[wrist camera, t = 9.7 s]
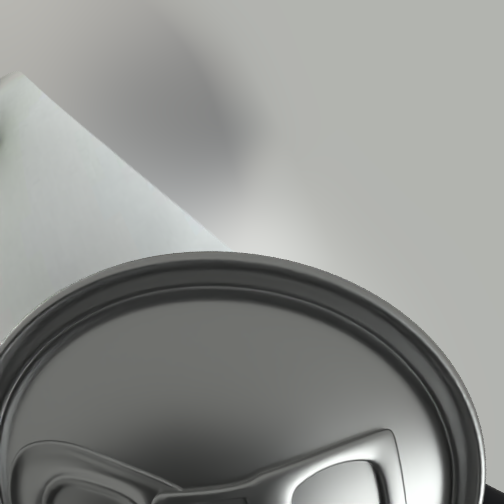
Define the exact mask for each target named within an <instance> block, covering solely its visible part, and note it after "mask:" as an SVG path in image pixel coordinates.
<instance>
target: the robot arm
mask: <svg viewBox="0 0 504 504" xmlns="http://www.w3.org/2000/svg"><path fill="white" fill-rule="evenodd" d="M483 504H504V493H503V492H501V491H499V490H496V489H495V488H493V487H491V486H489V485H487V484H485V492H484V499H483Z"/></svg>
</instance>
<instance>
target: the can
mask: <svg viewBox="0 0 504 504" xmlns="http://www.w3.org/2000/svg"><path fill="white" fill-rule="evenodd" d="M485 482H486V457H485V448H484V441H483V435H482V430H481V426H480V422H479V419H478V416H477V412H476V409H475V407H474V404H473V402H472V400H471V397H470V395H469V393H468V391H467V388H466V387H465V385H464V383H463V381H462V379H461V377H460V376H459V374H458V373H457V371H456V369H455V368H454V366H453V365H452V363H451V362H450V361H449V359H448V358H447V357H446V355H445V354H444V353H443V351H442V350H441V349H440V348H439V347H438V346H437V345H436V343H435V342H434V341H433V340H432V339H431V338H430V337H429V336H428V335H427V334H426V333H425V332H424V331H423V330H422V329H421V328H420V327H418V325H417V324H415V323H414V322H413V321H412V320H410V318H408V317H407V316H406V315H404V314H403V313H402V312H401V311H399V310H398V309H396V308H395V307H394V306H392V305H391V304H389V303H388V302H386V301H385V300H383V299H381V298H380V297H378V296H377V295H375V294H373V293H371V292H370V291H368V290H366V289H364V288H362V287H360V286H358V285H356V284H354V283H352V282H350V281H348V280H345V279H343V278H341V277H338V276H336V275H333V274H331V273H328V272H325V271H323V270H320V269H317V268H314V267H311V266H307V265H304V264H300V263H297V262H292V261H289V260H284V259H279V258H275V257H269V256H262V255H256V254H248V253H237V252H218V251H204V252H184V253H173V254H166V255H159V256H153V257H148V258H143V259H138V260H134V261H130V262H127V263H123V264H119V265H116V266H113V267H110V268H107V269H105V270H102V271H99V272H97V273H94V274H92V275H90V276H87V277H85V278H83V279H81V280H79V281H77V282H75V283H73V284H71V285H69V286H67V287H66V288H64V289H62V290H60V291H59V292H57V293H56V294H54V295H53V296H51V297H50V298H48V299H47V300H45V301H44V302H43V303H41V304H40V305H39V306H37V307H36V308H35V309H34V310H32V311H31V312H30V313H29V314H28V315H27V316H26V317H25V318H24V319H22V320H21V321H20V322H19V323H18V324H17V326H16V327H15V328H14V329H13V330H12V331H11V332H10V333H9V334H8V336H7V337H6V338H5V339H4V341H3V342H2V343H1V345H0V504H483V499H484V492H485Z"/></svg>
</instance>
